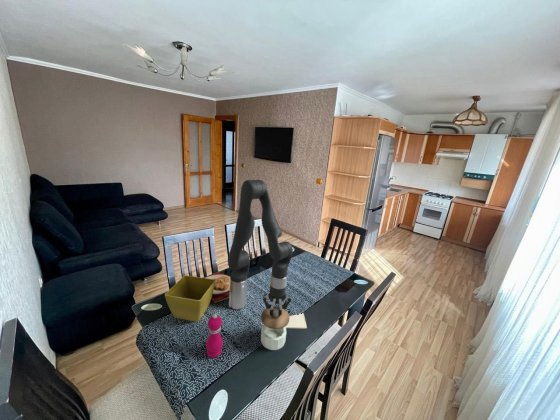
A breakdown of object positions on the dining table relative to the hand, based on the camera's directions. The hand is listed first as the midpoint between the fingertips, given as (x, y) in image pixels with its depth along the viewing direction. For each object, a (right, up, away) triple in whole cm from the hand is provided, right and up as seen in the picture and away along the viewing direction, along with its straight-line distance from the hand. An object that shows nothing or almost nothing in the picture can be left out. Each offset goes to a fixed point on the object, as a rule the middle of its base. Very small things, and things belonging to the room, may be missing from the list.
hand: (275, 315), depth 107 cm
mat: (+9, -11, +19) cm, 24 cm away
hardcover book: (-37, -4, +35) cm, 51 cm away
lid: (0, -2, 0) cm, 2 cm away
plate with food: (-32, -6, +36) cm, 48 cm away
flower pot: (-46, -7, +16) cm, 50 cm away
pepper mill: (-28, -14, -5) cm, 32 cm away
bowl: (-1, -14, +4) cm, 15 cm away
